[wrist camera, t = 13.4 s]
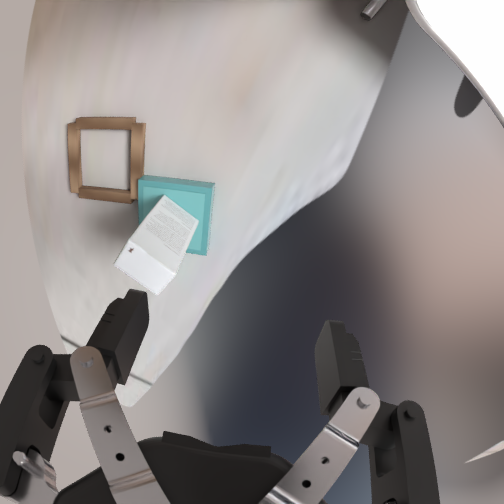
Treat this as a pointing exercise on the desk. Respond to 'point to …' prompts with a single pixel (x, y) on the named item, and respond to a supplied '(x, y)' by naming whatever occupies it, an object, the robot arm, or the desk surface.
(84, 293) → the desk surface
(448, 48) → the monitor stand
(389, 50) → the desk surface
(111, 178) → the desk surface
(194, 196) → the tile
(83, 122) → the wooden square frame
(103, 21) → the desk surface
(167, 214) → the skincare box
